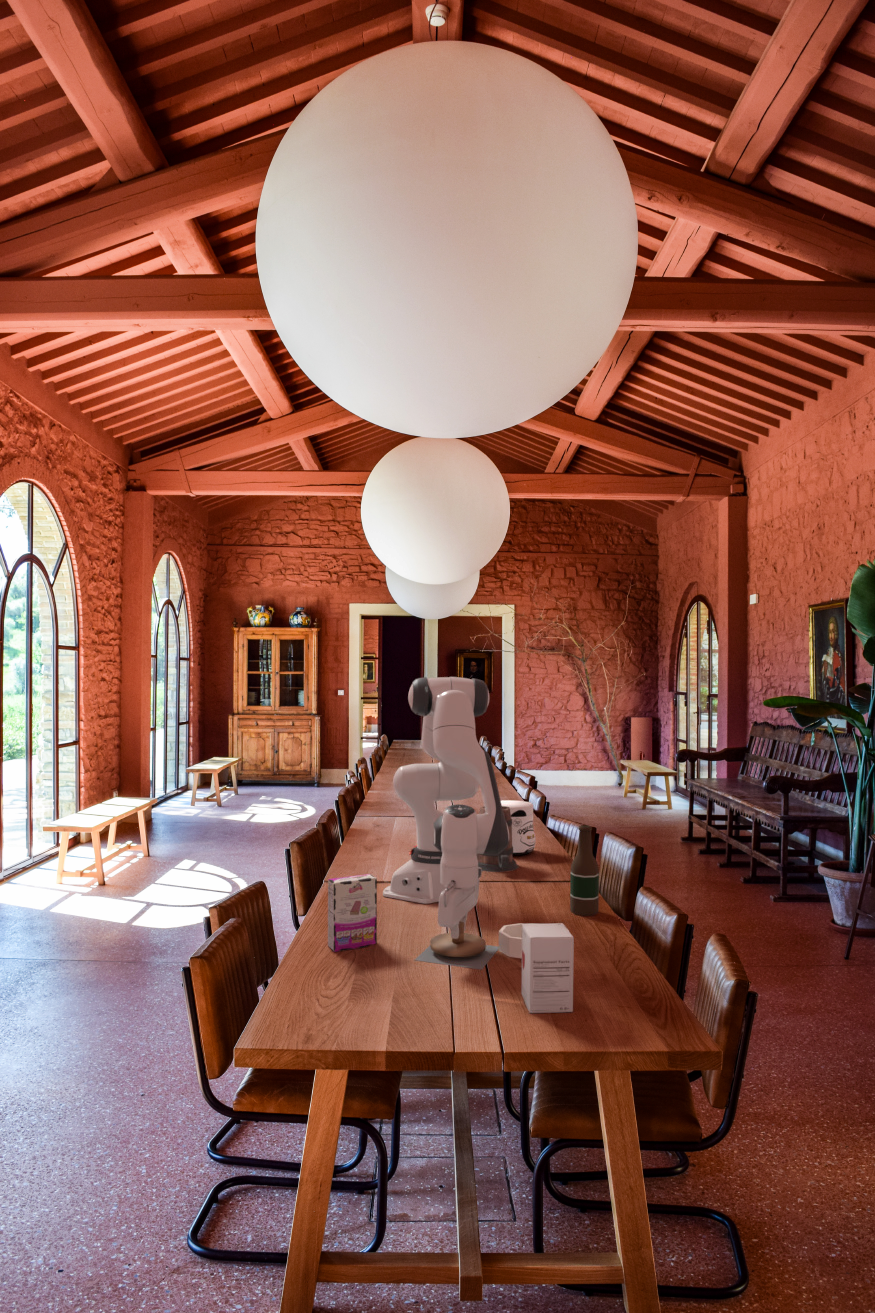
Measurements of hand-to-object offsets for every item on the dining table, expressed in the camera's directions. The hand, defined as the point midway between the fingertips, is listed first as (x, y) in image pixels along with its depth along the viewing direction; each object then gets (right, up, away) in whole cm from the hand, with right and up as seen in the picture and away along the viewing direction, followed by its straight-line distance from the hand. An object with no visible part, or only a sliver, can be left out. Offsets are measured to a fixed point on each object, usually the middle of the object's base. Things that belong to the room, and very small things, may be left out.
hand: (458, 935), depth 194 cm
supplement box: (+17, -5, -28) cm, 33 cm away
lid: (0, -3, 0) cm, 3 cm away
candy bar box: (-25, -5, +5) cm, 26 cm away
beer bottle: (+36, -6, +36) cm, 51 cm away
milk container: (+22, -7, +109) cm, 112 cm away
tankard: (+15, -6, +85) cm, 87 cm away
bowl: (+16, -5, +2) cm, 17 cm away
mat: (0, -5, -1) cm, 5 cm away
